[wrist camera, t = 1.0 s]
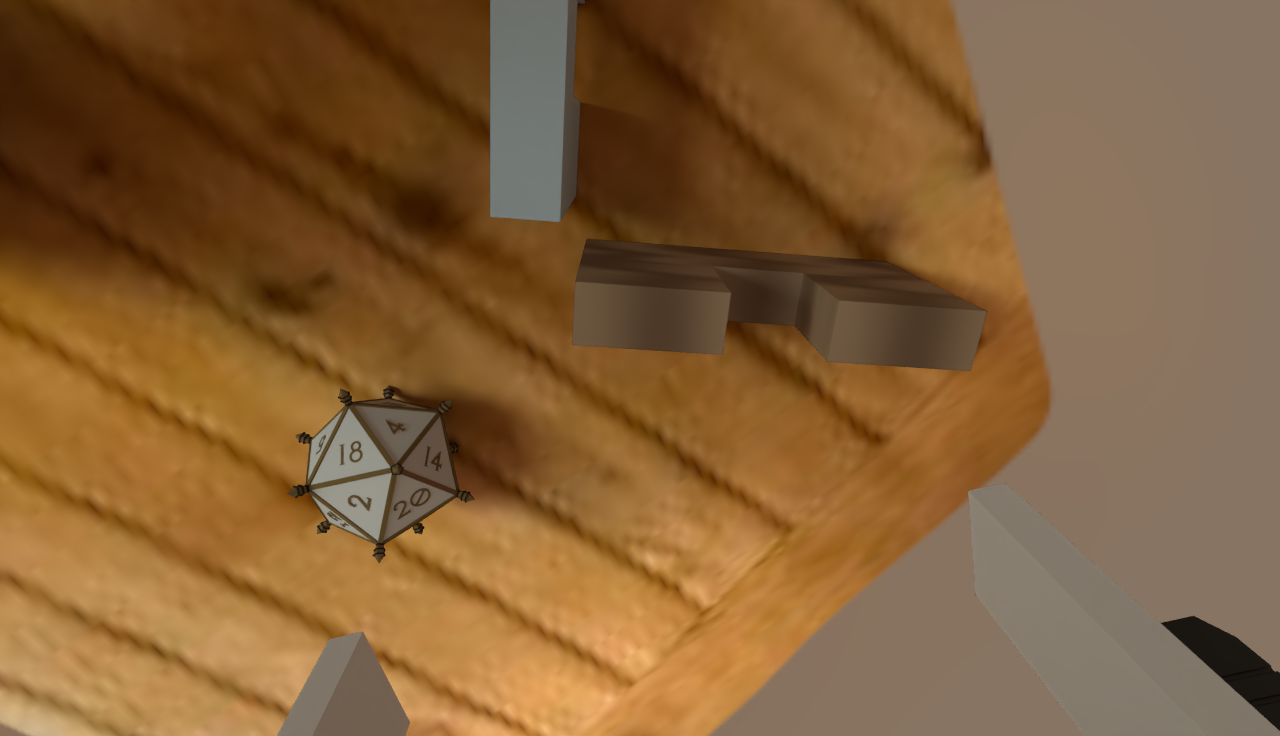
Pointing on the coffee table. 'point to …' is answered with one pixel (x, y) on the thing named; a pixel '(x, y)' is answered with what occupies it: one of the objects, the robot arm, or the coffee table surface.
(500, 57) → the cross plank
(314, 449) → the game die
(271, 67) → the coffee table surface
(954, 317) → the base plank
